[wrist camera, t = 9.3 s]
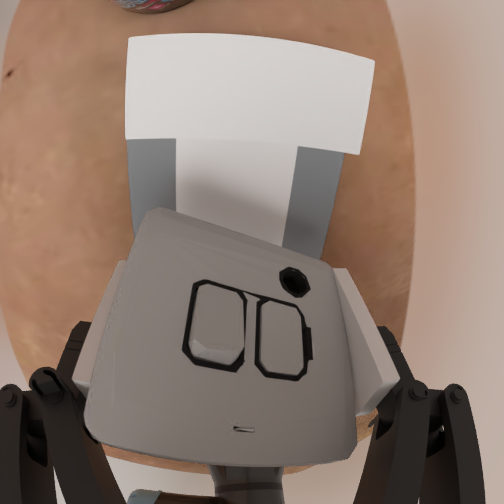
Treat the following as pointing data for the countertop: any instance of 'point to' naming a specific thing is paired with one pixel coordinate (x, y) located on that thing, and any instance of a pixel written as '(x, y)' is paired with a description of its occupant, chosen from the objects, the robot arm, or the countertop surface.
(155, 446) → the electrical switch
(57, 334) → the countertop surface
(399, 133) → the countertop surface
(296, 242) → the rail plate
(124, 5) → the supplement container
